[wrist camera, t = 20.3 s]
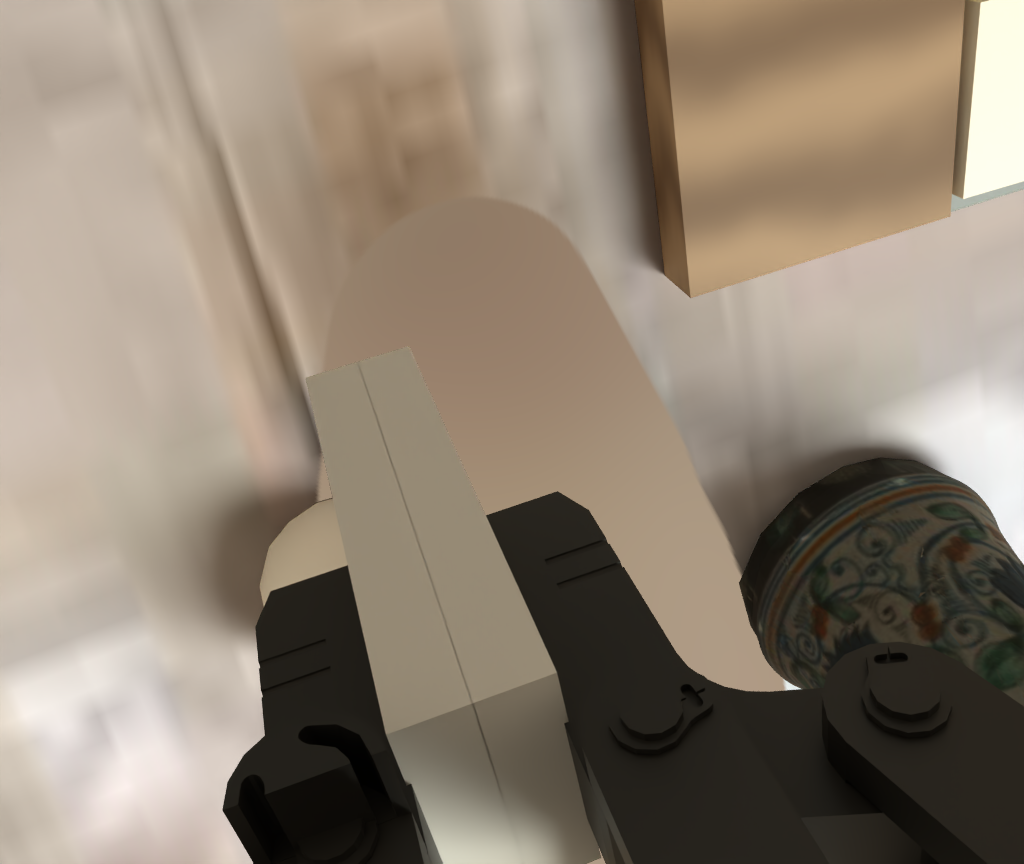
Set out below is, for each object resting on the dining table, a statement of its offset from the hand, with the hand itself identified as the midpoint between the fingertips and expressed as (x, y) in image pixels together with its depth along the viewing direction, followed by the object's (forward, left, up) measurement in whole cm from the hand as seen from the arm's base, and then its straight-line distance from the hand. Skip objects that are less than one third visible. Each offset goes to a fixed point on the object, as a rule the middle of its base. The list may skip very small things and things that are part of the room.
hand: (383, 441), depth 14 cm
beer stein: (+38, +28, -30) cm, 56 cm away
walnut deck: (+3, +23, -29) cm, 37 cm away
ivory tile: (+9, +34, -29) cm, 45 cm away
